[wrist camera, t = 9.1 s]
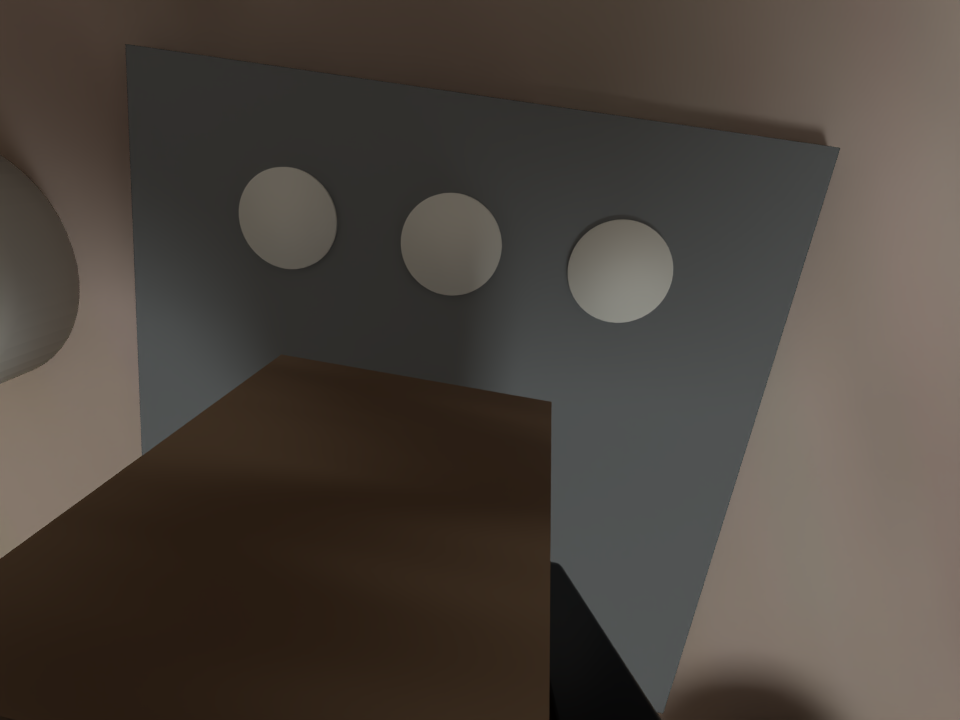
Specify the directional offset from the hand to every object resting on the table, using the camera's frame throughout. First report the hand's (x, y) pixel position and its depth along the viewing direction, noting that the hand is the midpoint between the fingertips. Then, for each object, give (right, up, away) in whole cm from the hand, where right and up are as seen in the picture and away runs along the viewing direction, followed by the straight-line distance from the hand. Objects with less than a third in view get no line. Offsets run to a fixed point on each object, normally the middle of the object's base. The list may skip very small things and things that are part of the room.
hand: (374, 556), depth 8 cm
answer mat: (0, +1, +4) cm, 5 cm away
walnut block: (0, 0, +1) cm, 2 cm away
